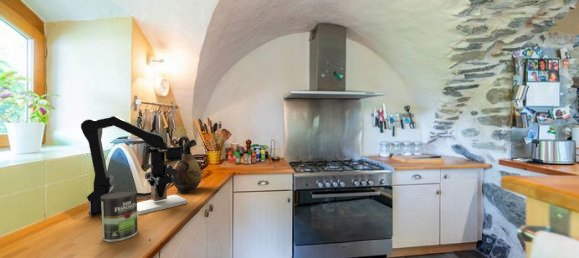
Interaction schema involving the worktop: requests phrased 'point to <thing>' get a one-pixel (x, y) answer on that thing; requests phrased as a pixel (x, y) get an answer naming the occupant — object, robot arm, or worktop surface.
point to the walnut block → (155, 195)
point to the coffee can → (119, 215)
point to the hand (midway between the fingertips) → (158, 196)
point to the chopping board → (159, 204)
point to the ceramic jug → (187, 168)
